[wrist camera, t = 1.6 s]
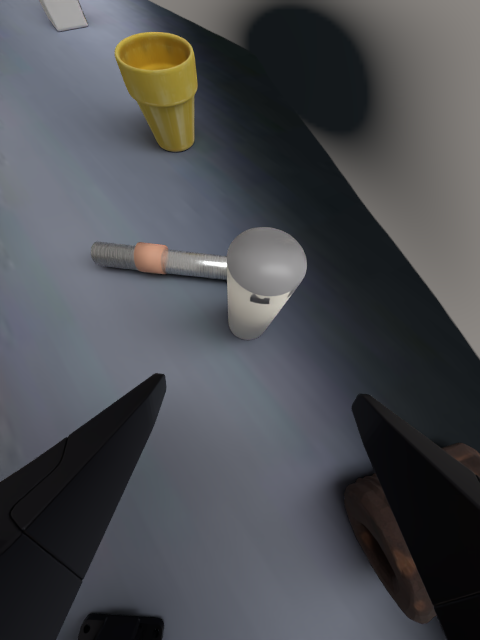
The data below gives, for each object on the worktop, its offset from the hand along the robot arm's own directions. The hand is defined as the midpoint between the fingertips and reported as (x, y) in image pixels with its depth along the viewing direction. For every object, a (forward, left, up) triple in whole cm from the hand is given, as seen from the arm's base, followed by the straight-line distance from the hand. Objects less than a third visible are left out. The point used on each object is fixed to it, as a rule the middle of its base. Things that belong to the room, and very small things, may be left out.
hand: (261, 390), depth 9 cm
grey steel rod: (+14, +7, -14) cm, 21 cm away
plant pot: (+41, +16, -14) cm, 46 cm away
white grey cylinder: (+8, 0, -14) cm, 16 cm away
